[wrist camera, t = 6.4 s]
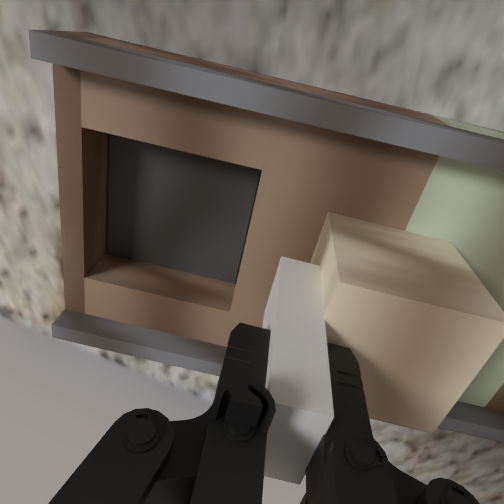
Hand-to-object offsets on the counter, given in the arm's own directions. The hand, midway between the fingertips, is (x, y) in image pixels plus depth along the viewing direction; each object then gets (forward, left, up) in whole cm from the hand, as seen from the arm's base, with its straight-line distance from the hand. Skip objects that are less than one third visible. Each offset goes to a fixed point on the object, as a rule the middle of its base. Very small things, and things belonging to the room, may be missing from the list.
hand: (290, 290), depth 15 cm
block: (+3, 0, -2) cm, 4 cm away
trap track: (+5, 0, -4) cm, 7 cm away
